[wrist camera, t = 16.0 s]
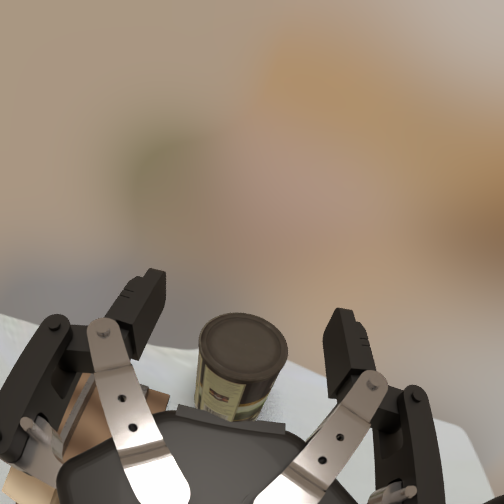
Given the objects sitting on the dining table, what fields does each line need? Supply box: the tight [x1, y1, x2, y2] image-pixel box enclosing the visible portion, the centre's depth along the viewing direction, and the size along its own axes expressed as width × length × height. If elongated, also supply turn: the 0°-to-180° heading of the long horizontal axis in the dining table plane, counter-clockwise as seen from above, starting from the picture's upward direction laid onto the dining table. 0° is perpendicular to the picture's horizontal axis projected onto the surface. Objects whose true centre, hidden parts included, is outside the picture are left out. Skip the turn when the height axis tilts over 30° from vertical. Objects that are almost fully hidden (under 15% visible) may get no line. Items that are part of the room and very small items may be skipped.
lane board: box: [16, 373, 170, 504], centre depth 23 cm, size 28×15×2 cm, turn 175°
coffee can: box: [194, 313, 288, 422], centre depth 34 cm, size 10×10×14 cm
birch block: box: [2, 466, 60, 504], centre depth 13 cm, size 5×5×12 cm
